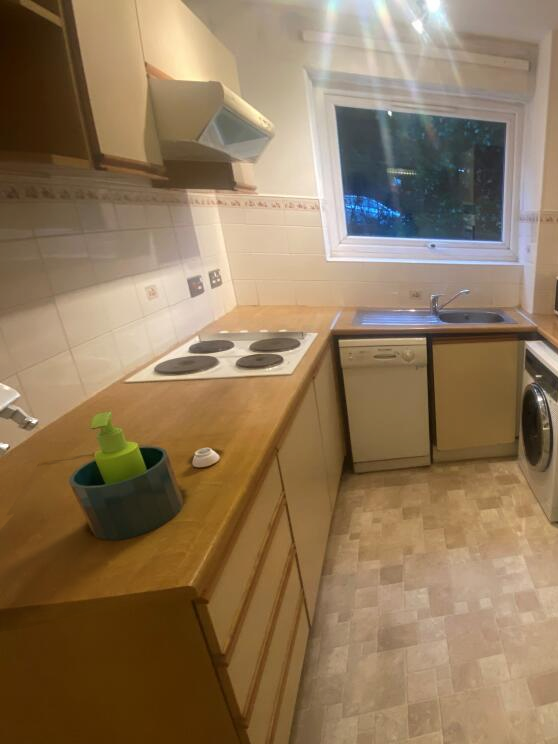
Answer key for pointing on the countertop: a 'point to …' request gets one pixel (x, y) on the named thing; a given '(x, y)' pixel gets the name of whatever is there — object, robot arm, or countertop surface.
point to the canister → (128, 497)
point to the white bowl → (205, 457)
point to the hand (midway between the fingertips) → (21, 438)
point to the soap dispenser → (115, 452)
